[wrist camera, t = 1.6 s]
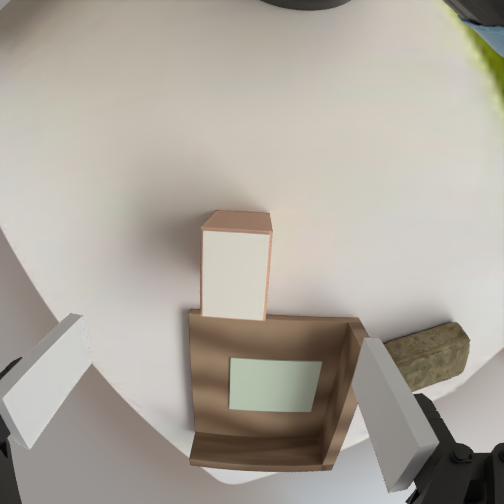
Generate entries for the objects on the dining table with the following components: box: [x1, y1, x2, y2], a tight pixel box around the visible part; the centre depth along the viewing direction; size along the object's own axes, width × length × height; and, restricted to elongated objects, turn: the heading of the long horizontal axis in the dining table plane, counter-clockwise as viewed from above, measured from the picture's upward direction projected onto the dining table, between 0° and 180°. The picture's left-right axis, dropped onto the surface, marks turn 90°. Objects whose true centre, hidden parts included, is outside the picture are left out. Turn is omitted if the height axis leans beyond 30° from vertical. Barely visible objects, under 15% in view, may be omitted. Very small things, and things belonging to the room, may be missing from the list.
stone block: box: [384, 322, 470, 392], centre depth 31 cm, size 6×12×5 cm, turn 103°
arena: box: [189, 309, 370, 472], centre depth 32 cm, size 20×18×6 cm
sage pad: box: [229, 357, 322, 412], centre depth 34 cm, size 8×10×1 cm
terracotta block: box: [200, 210, 273, 321], centre depth 27 cm, size 7×5×8 cm
